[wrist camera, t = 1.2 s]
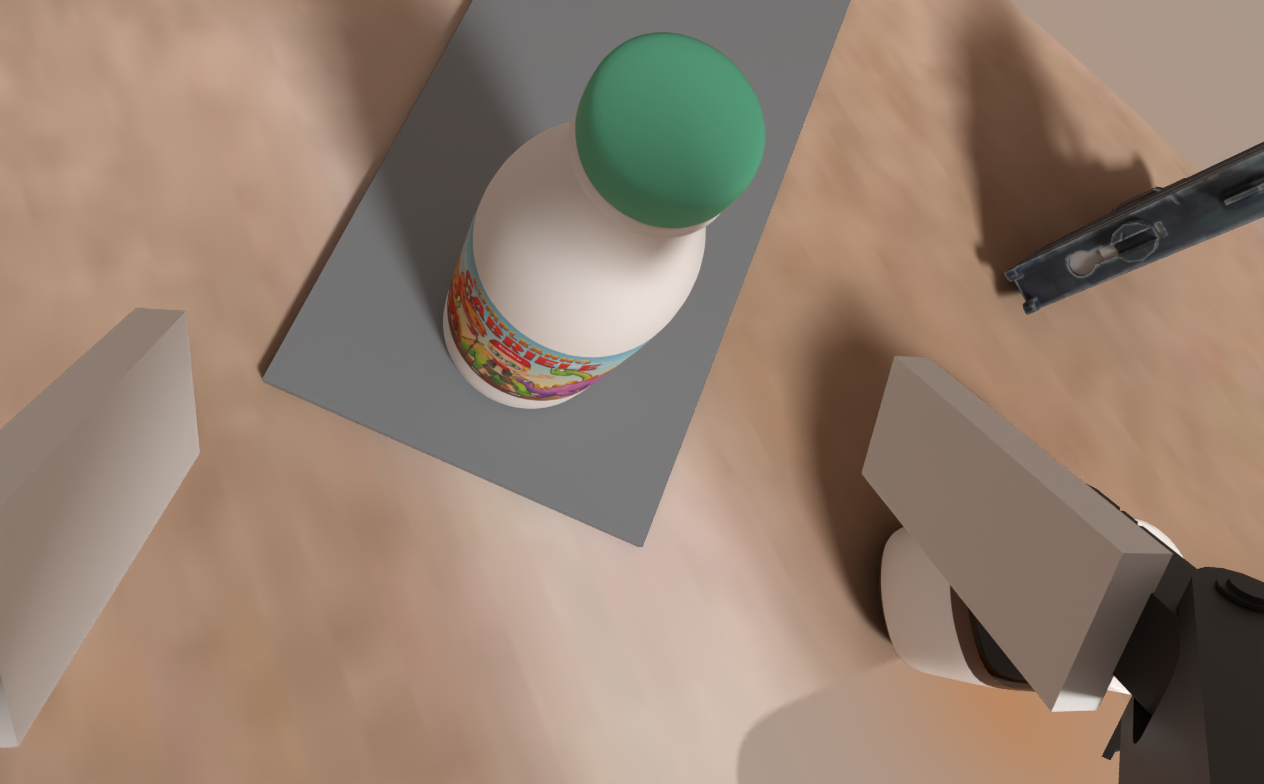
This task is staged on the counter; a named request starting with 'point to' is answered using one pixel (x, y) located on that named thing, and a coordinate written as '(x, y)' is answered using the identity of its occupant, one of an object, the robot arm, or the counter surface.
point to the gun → (1146, 230)
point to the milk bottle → (601, 222)
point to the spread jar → (945, 620)
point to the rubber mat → (443, 212)
